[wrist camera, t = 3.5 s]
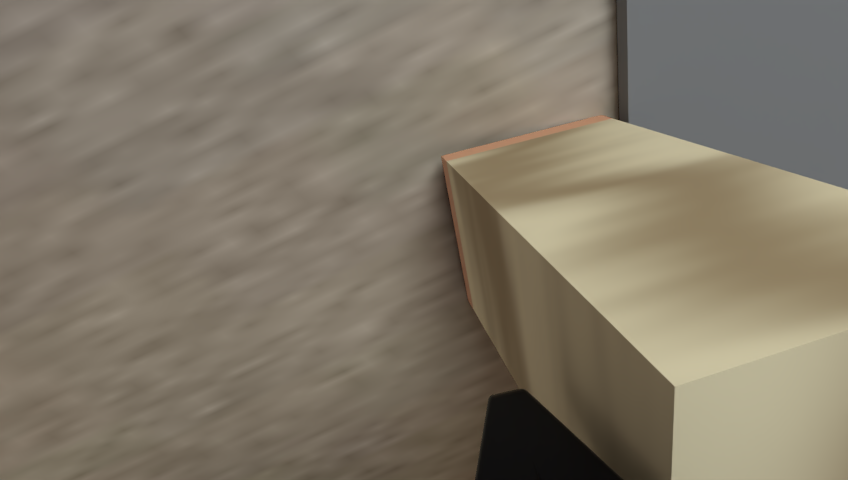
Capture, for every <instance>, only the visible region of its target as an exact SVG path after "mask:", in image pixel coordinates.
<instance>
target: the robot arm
mask: <svg viewBox="0 0 848 480" xmlns="http://www.w3.org/2000/svg"><path fill="white" fill-rule="evenodd" d="M475 480H623V479H622V478H621V477H620V476H619V475H618V474H617V473H616V472H615V471H614V470H613V469H611V468H610V467H609V466H608V465H607V464H606V463H605V462H604V461H603V460H602V459H601V458H600V457H598V456H597V455H596V454H595V453H594V452H593V451H592V450H591V449H590V448H589V447H588V446H587V445H585V444H584V443H583V442H582V441H581V440H580V439H579V438H578V437H577V436H576V435H575V434H574V433H572V432H571V431H570V430H569V429H568V428H567V427H566V426H565V425H564V424H563V423H562V422H561V421H559V420H558V419H557V418H556V417H555V416H554V415H553V414H552V413H551V412H550V411H549V410H548V409H546V408H545V407H544V406H543V405H542V404H541V403H540V402H539V401H538V400H537V399H536V398H535V397H533V396H532V395H531V394H530V393H529V392H528V391H527V390H525V389H517V390H513V391H508V392H504V393H499V394H495V395H491V396H490V397H489V400H488V405H487V411H486V417H485V423H484V429H483V435H482V441H481V447H480V453H479V459H478V465H477V471H476V477H475Z"/></svg>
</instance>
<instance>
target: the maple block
mask: <svg viewBox="0 0 848 480" xmlns="http://www.w3.org/2000/svg"><path fill="white" fill-rule="evenodd" d="M441 158H442V163H443V169H444V174H445V179H446V185H447V190H448V195H449V201H450V206H451V212H452V217H453V222H454V228H455V233H456V238H457V244H458V249H459V254H460V260H461V265H462V270H463V276H464V281H465V286H466V292H467V297H468V301H469V303H470V304H471V306H472V308H473V310H474V311H475V313H476V315H477V317H478V318H479V320H480V322H481V323H482V325H483V327H484V329H485V330H486V332H487V334H488V336H489V337H490V339H491V341H492V343H493V344H494V346H495V348H496V349H497V351H498V353H499V355H500V356H501V358H502V360H503V362H504V363H505V365H506V367H507V368H508V370H509V372H510V374H511V375H512V377H513V379H514V381H515V382H516V384H517V386H518V388H519V389H525V390H527V391H528V392H529V393H530V394H531V395H532V396H533V397H535V398H536V399H537V400H538V401H539V402H540V403H541V404H542V405H543V406H544V407H545V408H546V409H548V410H549V411H550V412H551V413H552V414H553V415H554V416H555V417H556V418H557V419H558V420H559V421H561V422H562V423H563V424H564V425H565V426H566V427H567V428H568V429H569V430H570V431H571V432H572V433H574V434H575V435H576V436H577V437H578V438H579V439H580V440H581V441H582V442H583V443H584V444H585V445H587V446H588V447H589V448H590V449H591V450H592V451H593V452H594V453H595V454H596V455H597V456H598V457H600V458H601V459H602V460H603V461H604V462H605V463H606V464H607V465H608V466H609V467H610V468H611V469H613V470H614V471H615V472H616V473H617V474H618V475H619V476H620V477H621V478H622V479H623V480H848V190H847V189H844V188H841V187H837V186H834V185H831V184H828V183H824V182H821V181H818V180H814V179H811V178H808V177H804V176H801V175H798V174H795V173H791V172H788V171H785V170H781V169H778V168H775V167H771V166H768V165H765V164H761V163H758V162H755V161H752V160H748V159H745V158H742V157H738V156H735V155H732V154H728V153H725V152H722V151H719V150H715V149H712V148H709V147H705V146H702V145H699V144H695V143H692V142H689V141H686V140H682V139H679V138H676V137H672V136H669V135H666V134H662V133H659V132H656V131H652V130H649V129H646V128H643V127H639V126H636V125H633V124H629V123H626V122H623V121H619V120H616V119H613V118H610V117H606V116H603V115H601V116H596V117H591V118H587V119H584V120H580V121H576V122H572V123H568V124H564V125H560V126H556V127H552V128H548V129H545V130H541V131H537V132H533V133H529V134H525V135H521V136H517V137H513V138H510V139H506V140H502V141H498V142H494V143H490V144H486V145H482V146H478V147H474V148H471V149H467V150H463V151H459V152H455V153H451V154H447V155H443V156H441Z"/></svg>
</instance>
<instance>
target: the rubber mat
mask: <svg viewBox="0 0 848 480" xmlns="http://www.w3.org/2000/svg"><path fill="white" fill-rule="evenodd" d="M617 41H618V86H619V121H623V122H626V123H629V124H633V125H636V126H639V127H643V128H646V129H649V130H652V131H656V132H659V133H662V134H666V135H669V136H672V137H676V138H679V139H682V140H686V141H689V142H692V143H695V144H699V145H702V146H705V147H709V148H712V149H715V150H719V151H722V152H725V153H728V154H732V155H735V156H738V157H742V158H745V159H748V160H752V161H755V162H758V163H761V164H765V165H768V166H771V167H775V168H778V169H781V170H785V171H788V172H791V173H795V174H798V175H801V176H804V177H808V178H811V179H814V180H818V181H821V182H824V183H828V184H831V185H834V186H837V187H841V188H844V189H847V190H848V0H617Z"/></svg>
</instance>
